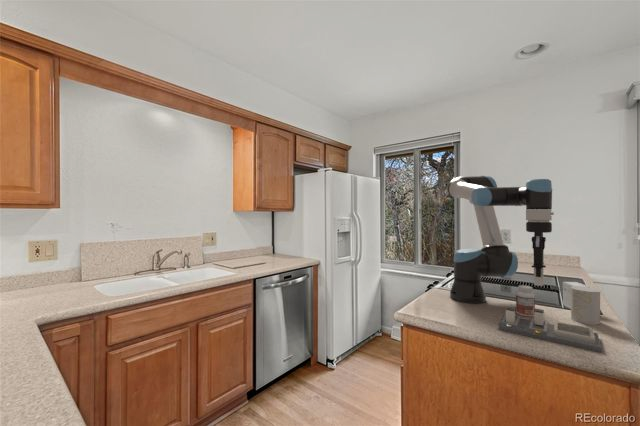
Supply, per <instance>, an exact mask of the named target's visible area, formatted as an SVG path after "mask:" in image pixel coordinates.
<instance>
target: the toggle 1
mask: <svg viewBox="0 0 640 426" xmlns="http://www.w3.org/2000/svg"><path fill="white" fill-rule="evenodd" d="M505 314H506V322H508V323H513V324H514V323H515V315H516V307H510V306H506V307H505Z"/></svg>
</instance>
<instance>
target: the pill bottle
mask: <svg viewBox="0 0 640 426" xmlns="http://www.w3.org/2000/svg"><path fill="white" fill-rule="evenodd" d="M517 289H518V291H516V293H515V313H517V315H518V316H524V317H534V310H535V309H536V295H535V294H534V292H533V287H532V286H529V285H523V284H521V285H518V287H517Z"/></svg>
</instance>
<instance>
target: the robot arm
mask: <svg viewBox="0 0 640 426" xmlns="http://www.w3.org/2000/svg"><path fill="white" fill-rule="evenodd" d="M446 191H447V194H448V195H449V196H450V197H452V198H454V199H455V198H456V199H465V200H468V201H469V203H470V204H471V205H473V207H474V211H475V212H474V213H475V216H476V217H475V218H476V221H477V224H478V230H479V233H480V239H481V241H482V242H481V243H482V248H481V249H480V248H475V247H474V248H471V247H470V248H462V249H461V248H460V249H458V250H456V251H454V254H453V283H452V285H451V288H450V292H449V297H450V299H452V300H454V301H457V302H462V303H469V304H481V303H482V304H483V303H486V301H487V296H486V292H485V289H484V286H483V283H482V278H483V277H484V278H485V277H488V278H508V277H509V278H510V277H513V276H515V274H516V273H517V270H518V267H519V260H518V256H517V254H516V253H515V252H513V251H510V249H509V246H508V245H506V244H504V240H503V237H502V234H501V233H502V232H501V230H500V226H499V223H498V218H497V215H496V211H495V206H496V207H501V206H502V207H503V206H504V207H507V206H508V207H514V206H515V207H522V206H523V207H524V206H525V208H526V209H525V220H526V222H525V230H526V232H528V233H534V234H533V236H532V237H531V242H532V249H533V265H531V268H533V285H534V286H540V287H544V268H545V269H546V267H547V266H546V265H545V264H544V263H545V262H544V252H545V251H544V250H545V249H546V246H545V245H546V240H547V239H546V236H544V233H545V234H546V233H549V234H550V233H552V231H553V230H552V229H553V228H552V227H553V226H552V225H553V223H552V222H551V221H552V220H553V219H552V216H554V214H555V212H553V211H552V209H553V208H552V206H553V187H552V181H551V180H550V179H548V178H534V179H528V180H527V181H526V184H525V186H512V187H511V186H507V187H505V186H504V187H499V186H498V185H497V182H496V180H495V178H493V177H492V176H489V175H488V176H486V175H479V176H476V175H475V176H472V175H471V176H457V177H454V178H453V179H451V180H450V181H449V182H448V183H447V186H446Z"/></svg>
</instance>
